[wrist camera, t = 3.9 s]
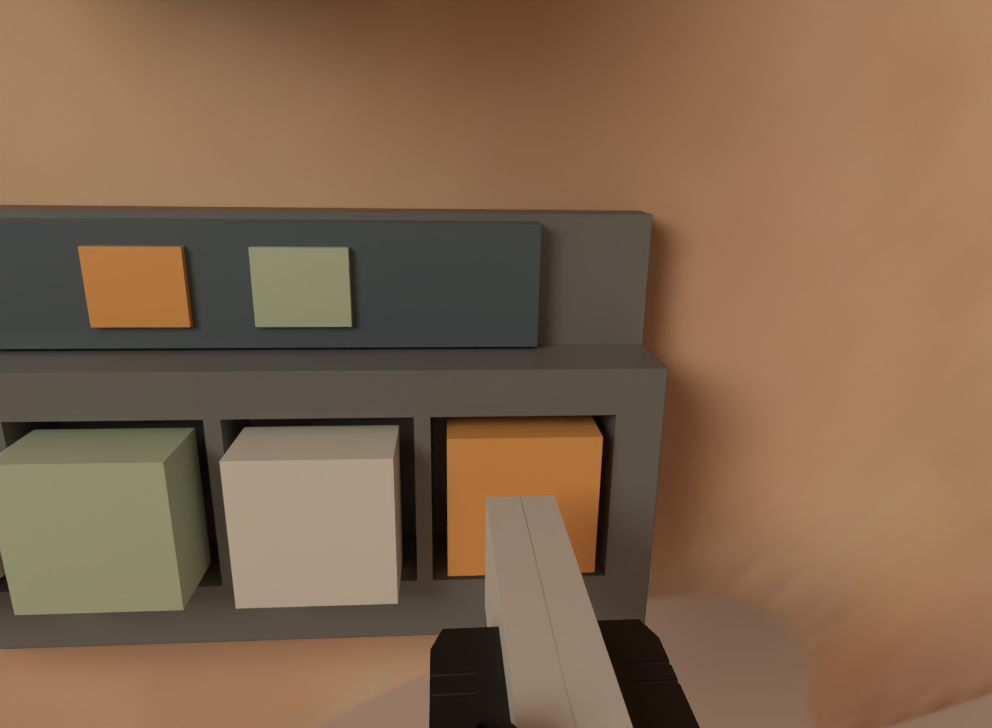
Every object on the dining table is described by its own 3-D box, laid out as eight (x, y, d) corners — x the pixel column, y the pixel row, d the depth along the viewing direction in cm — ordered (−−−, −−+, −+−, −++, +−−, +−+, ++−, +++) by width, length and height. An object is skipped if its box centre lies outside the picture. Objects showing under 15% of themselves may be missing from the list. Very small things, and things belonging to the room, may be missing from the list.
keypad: (-102, 575, 21) (-207, 655, 18) (-204, 203, 18) (-355, 215, 14) (614, 557, 22) (644, 627, 19) (640, 210, 19) (680, 223, 16)
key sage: (60, 566, 18) (14, 615, 16) (34, 429, 17) (-19, 465, 15) (211, 562, 18) (183, 610, 16) (194, 427, 17) (162, 462, 15)
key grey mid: (258, 560, 18) (235, 608, 16) (244, 426, 17) (219, 461, 15) (402, 557, 19) (398, 603, 17) (399, 425, 17) (393, 458, 16)
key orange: (447, 535, 20) (447, 575, 18) (446, 409, 19) (446, 438, 17) (580, 531, 20) (594, 572, 18) (587, 408, 19) (603, 436, 17)
